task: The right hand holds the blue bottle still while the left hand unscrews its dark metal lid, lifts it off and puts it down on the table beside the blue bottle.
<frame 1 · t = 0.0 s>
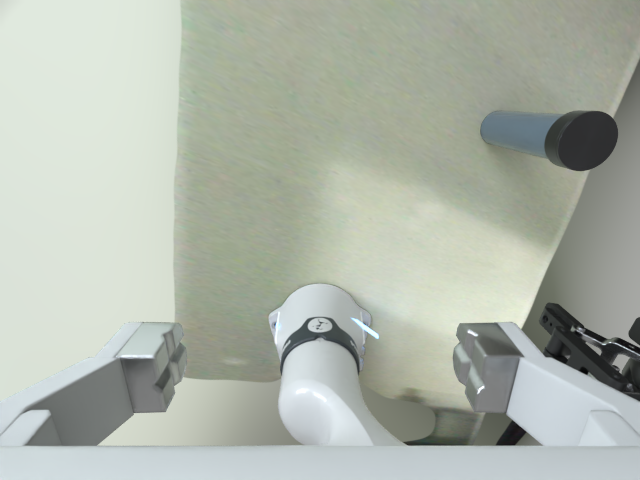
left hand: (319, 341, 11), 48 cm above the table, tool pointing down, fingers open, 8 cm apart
lid: (585, 141, 36), point 19 cm above the table, screwed on, not yet turned
blue bottle: (496, 128, 54), on the table
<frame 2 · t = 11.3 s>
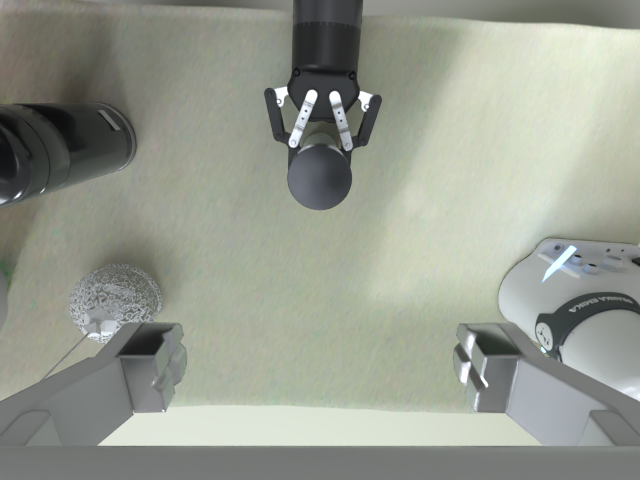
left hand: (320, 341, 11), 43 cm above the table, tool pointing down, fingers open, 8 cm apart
right hand: (318, 177, 46), fingers closed on blue bottle, 5 cm apart
lid: (319, 178, 33), point 19 cm above the table, screwed on, not yet turned
blue bottle: (319, 150, 51), on the table, touching right hand
pendant light: (126, 294, 59), on the table
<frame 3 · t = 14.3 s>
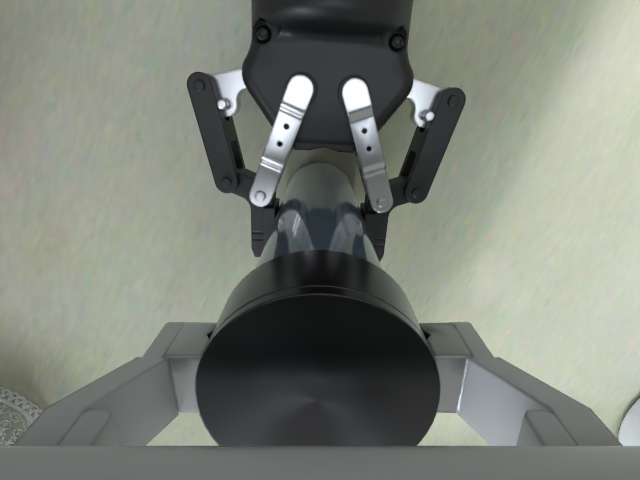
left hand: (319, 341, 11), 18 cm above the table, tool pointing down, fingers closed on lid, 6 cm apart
right hand: (317, 262, 22), fingers closed on blue bottle, 5 cm apart
lid: (317, 390, 9), point 19 cm above the table, screwed on, not yet turned, touching left hand
blue bottle: (319, 195, 27), on the table, touching right hand
when the left hand's fingers open (18 cm above the table, at t = 15.7 s): lid stays where it is, point 20 cm above the table.
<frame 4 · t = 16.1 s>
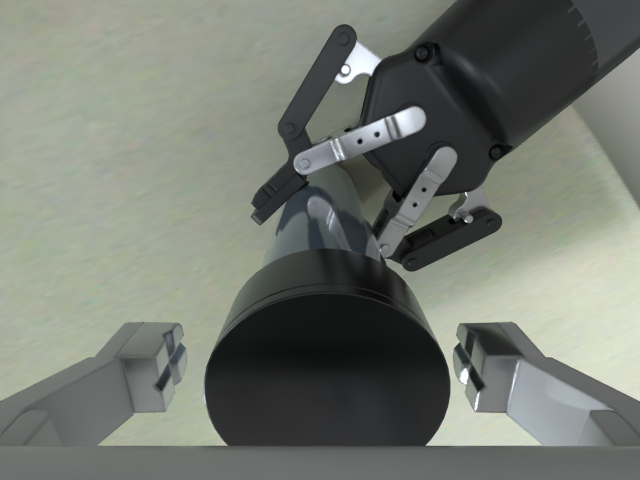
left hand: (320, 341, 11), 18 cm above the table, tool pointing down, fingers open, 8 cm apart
right hand: (291, 249, 22), fingers closed on blue bottle, 5 cm apart
lid: (326, 389, 9), point 20 cm above the table, turned 61° so far, risen 0.1 cm, still on its thread
blue bottle: (322, 194, 27), on the table, touching right hand
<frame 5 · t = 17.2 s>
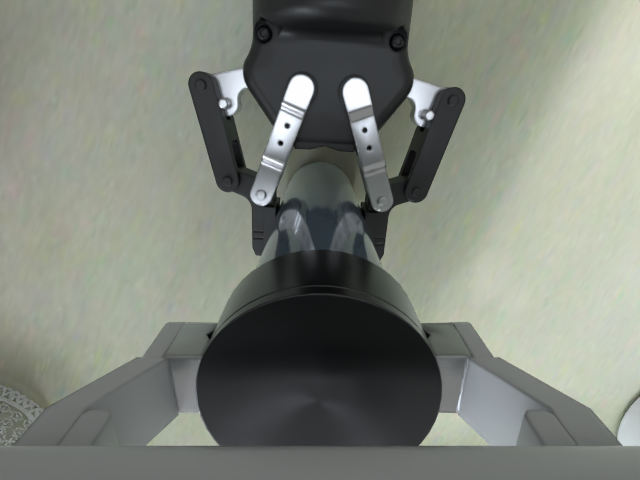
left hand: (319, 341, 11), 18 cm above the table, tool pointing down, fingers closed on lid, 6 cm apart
right hand: (317, 261, 22), fingers closed on blue bottle, 5 cm apart
lid: (318, 390, 9), point 20 cm above the table, turned 61° so far, risen 0.1 cm, still on its thread, touching left hand
blue bottle: (319, 194, 27), on the table, touching right hand
when the left hand's fingers open (2 cm above the table, at t = 27.1 s): lid drops 2 cm, point 2 cm above the table.
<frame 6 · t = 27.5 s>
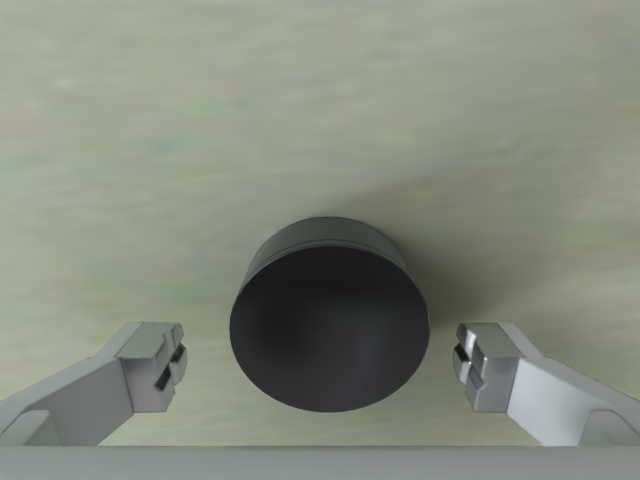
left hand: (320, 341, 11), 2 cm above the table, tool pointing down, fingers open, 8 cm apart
lid: (329, 330, 11), point 2 cm above the table, off its thread
when the right hand's fingers open (6 cm above the table, at t = 28.1 s): blue bottle stays where it is, on the table.
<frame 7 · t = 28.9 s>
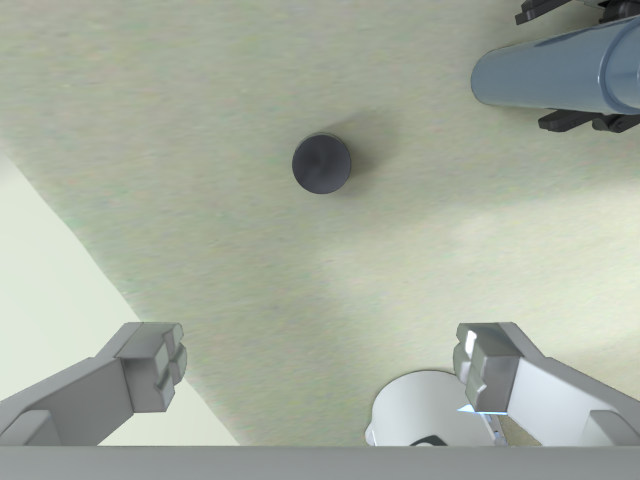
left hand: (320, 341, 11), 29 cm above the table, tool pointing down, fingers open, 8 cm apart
lid: (321, 164, 36), point 2 cm above the table, off its thread
blue bottle: (496, 77, 35), on the table
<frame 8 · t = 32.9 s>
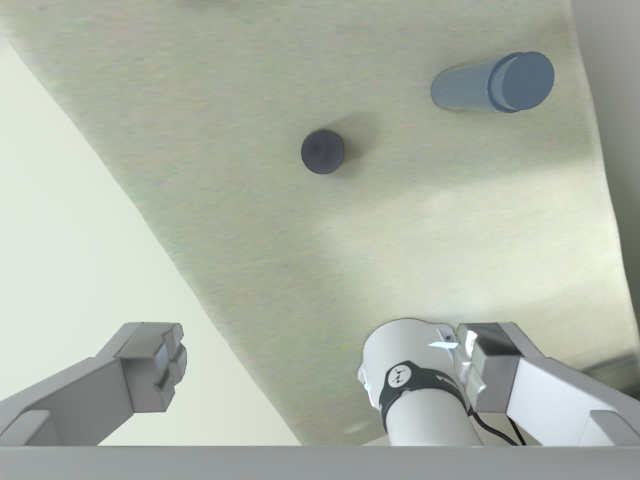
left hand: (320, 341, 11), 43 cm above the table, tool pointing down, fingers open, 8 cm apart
lid: (322, 152, 49), point 2 cm above the table, off its thread
blue bottle: (449, 89, 48), on the table
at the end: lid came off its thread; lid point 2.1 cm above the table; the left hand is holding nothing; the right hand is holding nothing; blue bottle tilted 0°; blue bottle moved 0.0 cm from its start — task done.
